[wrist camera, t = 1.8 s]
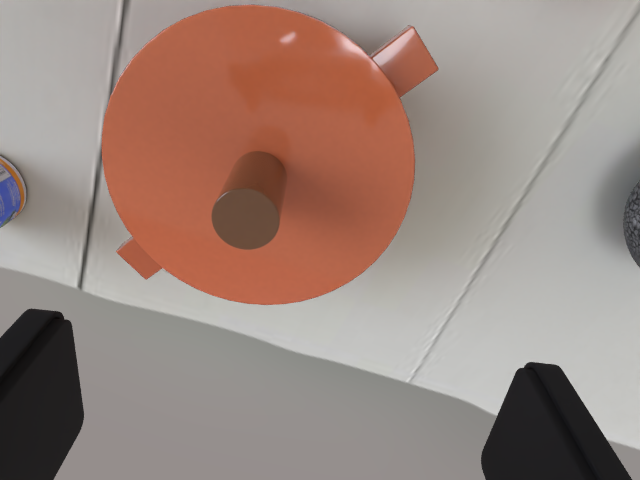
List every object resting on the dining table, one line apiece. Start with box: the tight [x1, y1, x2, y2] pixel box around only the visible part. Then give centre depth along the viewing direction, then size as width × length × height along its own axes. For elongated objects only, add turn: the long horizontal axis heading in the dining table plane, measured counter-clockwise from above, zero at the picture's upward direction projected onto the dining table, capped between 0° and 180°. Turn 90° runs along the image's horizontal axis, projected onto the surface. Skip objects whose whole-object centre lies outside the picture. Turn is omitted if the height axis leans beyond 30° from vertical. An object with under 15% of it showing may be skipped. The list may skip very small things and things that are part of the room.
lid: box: [102, 4, 415, 305], centre depth 22 cm, size 16×16×6 cm
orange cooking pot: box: [116, 25, 438, 279], centre depth 28 cm, size 15×20×8 cm
